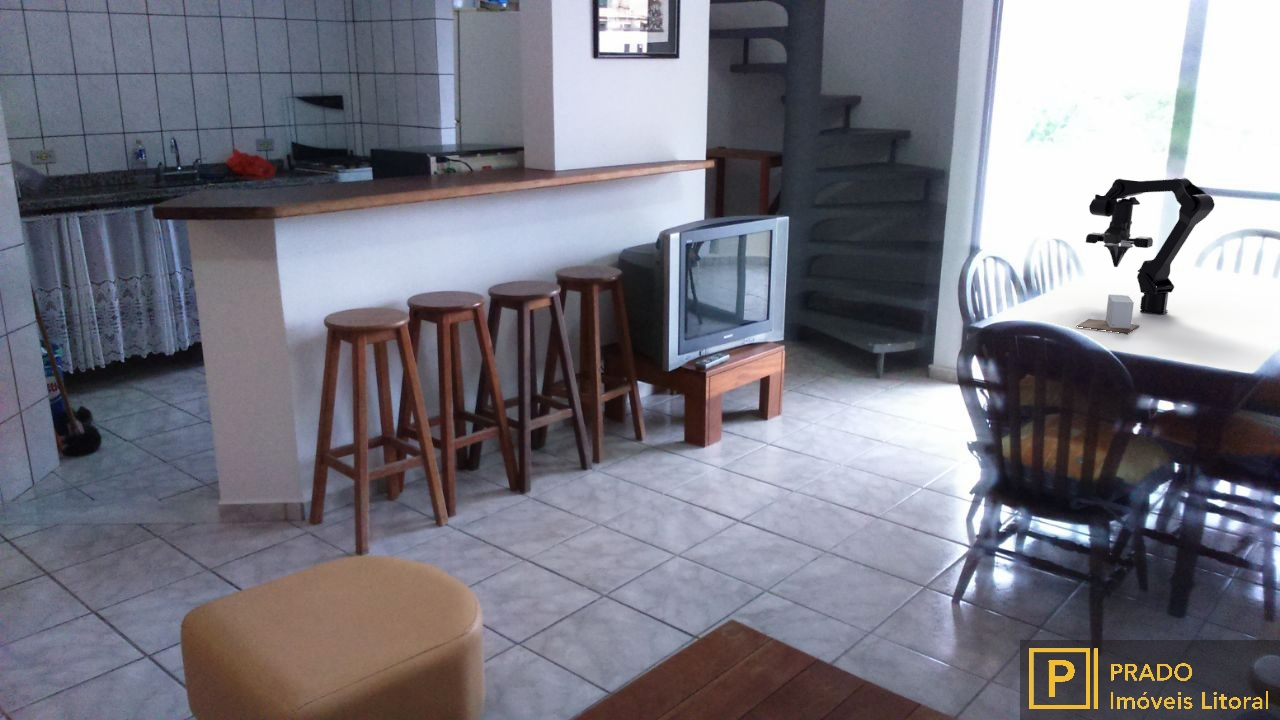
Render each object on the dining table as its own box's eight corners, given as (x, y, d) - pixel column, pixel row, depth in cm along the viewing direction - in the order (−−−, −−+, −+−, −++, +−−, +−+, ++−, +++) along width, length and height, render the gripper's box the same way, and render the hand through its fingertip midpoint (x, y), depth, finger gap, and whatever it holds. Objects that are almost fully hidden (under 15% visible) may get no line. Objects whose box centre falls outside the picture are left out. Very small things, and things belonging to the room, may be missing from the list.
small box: (1125, 321, 293) (1130, 329, 283) (1104, 320, 295) (1109, 328, 285) (1129, 295, 291) (1134, 302, 281) (1108, 293, 292) (1112, 301, 283)
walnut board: (1139, 327, 289) (1139, 325, 289) (1127, 334, 280) (1127, 332, 280) (1088, 320, 297) (1089, 318, 297) (1076, 327, 289) (1076, 325, 288)
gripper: (1082, 218, 315) (1076, 266, 319) (1144, 222, 302) (1138, 273, 306) (1094, 215, 323) (1089, 262, 327) (1156, 219, 310) (1149, 268, 314)
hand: (1115, 266), depth 318 cm, fingers closed
